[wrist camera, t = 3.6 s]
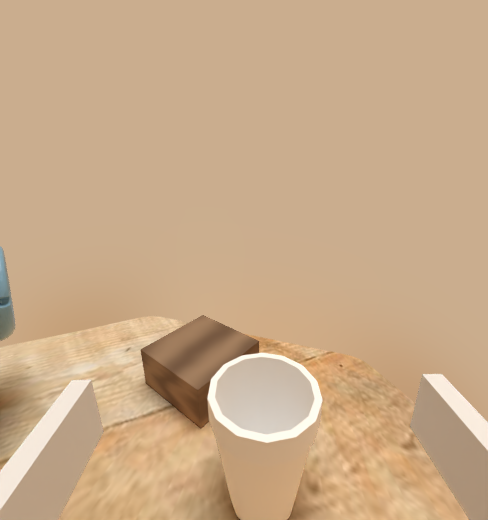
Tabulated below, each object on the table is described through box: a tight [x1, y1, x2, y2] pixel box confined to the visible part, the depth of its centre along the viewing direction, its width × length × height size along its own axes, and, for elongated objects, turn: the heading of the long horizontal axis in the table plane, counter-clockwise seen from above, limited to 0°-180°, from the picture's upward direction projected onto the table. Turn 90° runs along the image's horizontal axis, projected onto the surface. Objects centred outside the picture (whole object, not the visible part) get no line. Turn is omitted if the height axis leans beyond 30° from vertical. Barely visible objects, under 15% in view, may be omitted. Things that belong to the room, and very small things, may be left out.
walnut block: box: [141, 315, 259, 428], centre depth 41 cm, size 12×12×6 cm
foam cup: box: [207, 353, 322, 520], centre depth 26 cm, size 10×9×13 cm
